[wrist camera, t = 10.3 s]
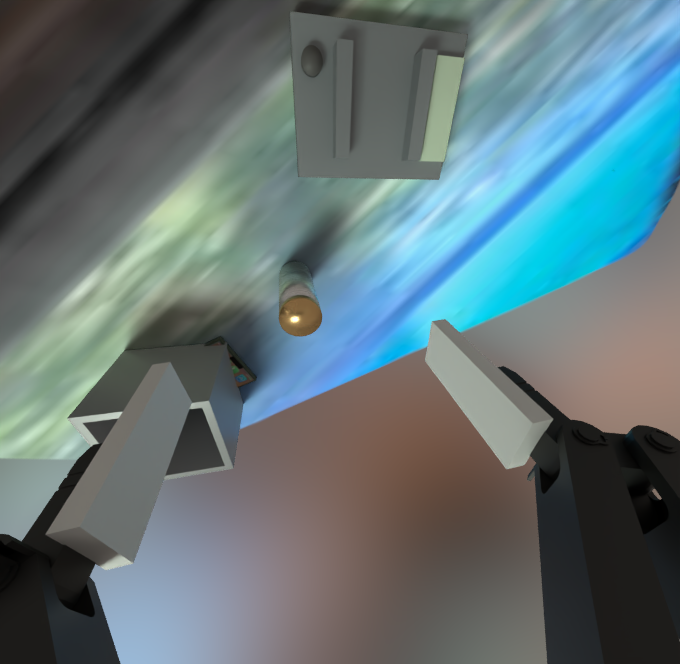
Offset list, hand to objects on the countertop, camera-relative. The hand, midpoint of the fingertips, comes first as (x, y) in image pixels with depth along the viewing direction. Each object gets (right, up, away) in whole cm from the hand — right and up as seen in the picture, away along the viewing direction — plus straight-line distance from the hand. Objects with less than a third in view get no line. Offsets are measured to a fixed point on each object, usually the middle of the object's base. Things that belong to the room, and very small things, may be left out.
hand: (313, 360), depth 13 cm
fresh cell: (-4, +8, +17) cm, 19 cm away
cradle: (+4, +21, +10) cm, 24 cm away
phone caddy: (-19, -5, +21) cm, 29 cm away
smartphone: (-19, -5, +22) cm, 29 cm away
